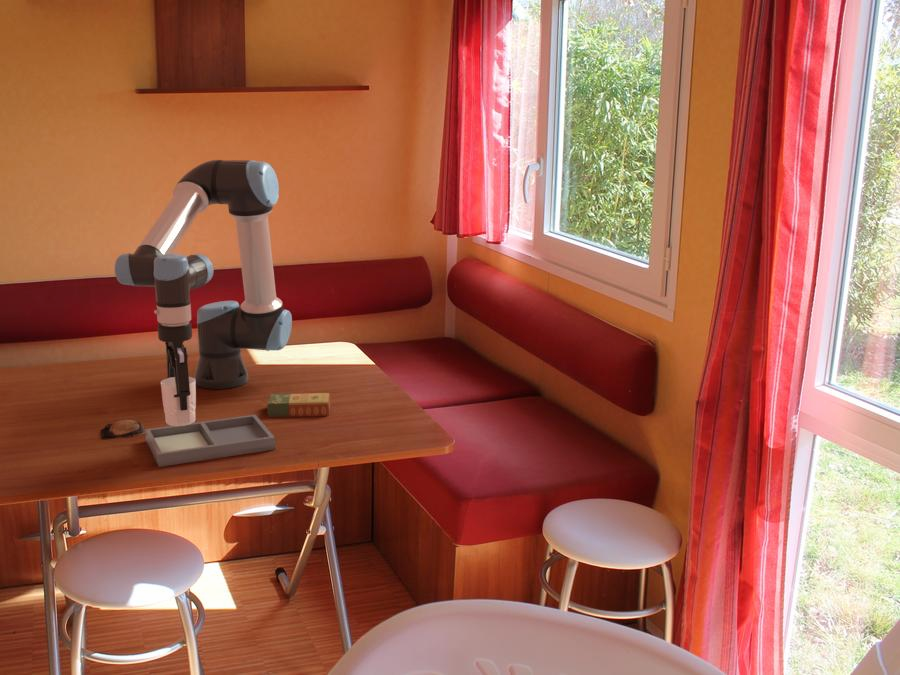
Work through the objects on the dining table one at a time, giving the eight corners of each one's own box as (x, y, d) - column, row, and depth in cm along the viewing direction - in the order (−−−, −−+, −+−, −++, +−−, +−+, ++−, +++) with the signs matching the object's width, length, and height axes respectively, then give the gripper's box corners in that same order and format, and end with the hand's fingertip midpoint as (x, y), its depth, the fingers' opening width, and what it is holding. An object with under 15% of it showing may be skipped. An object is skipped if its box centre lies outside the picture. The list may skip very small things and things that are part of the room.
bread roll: (143, 426, 251) (142, 412, 250) (147, 437, 244) (146, 423, 243) (98, 432, 247) (97, 417, 246) (102, 442, 239) (101, 428, 238)
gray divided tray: (145, 441, 239) (145, 429, 238) (255, 425, 250) (255, 414, 250) (158, 466, 223) (157, 454, 223) (275, 449, 235) (274, 437, 234)
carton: (329, 417, 258) (328, 401, 257) (267, 418, 257) (266, 402, 256) (330, 406, 266) (330, 391, 265) (270, 407, 265) (269, 392, 264)
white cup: (169, 415, 236) (166, 375, 234) (201, 416, 236) (199, 376, 234) (158, 427, 229) (155, 385, 226) (192, 427, 228) (190, 386, 226)
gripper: (150, 314, 234) (156, 406, 239) (165, 334, 216) (172, 433, 222) (182, 311, 237) (188, 402, 243) (200, 331, 219) (205, 428, 225)
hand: (180, 416), depth 232 cm, fingers closed on white cup, 8 cm apart
